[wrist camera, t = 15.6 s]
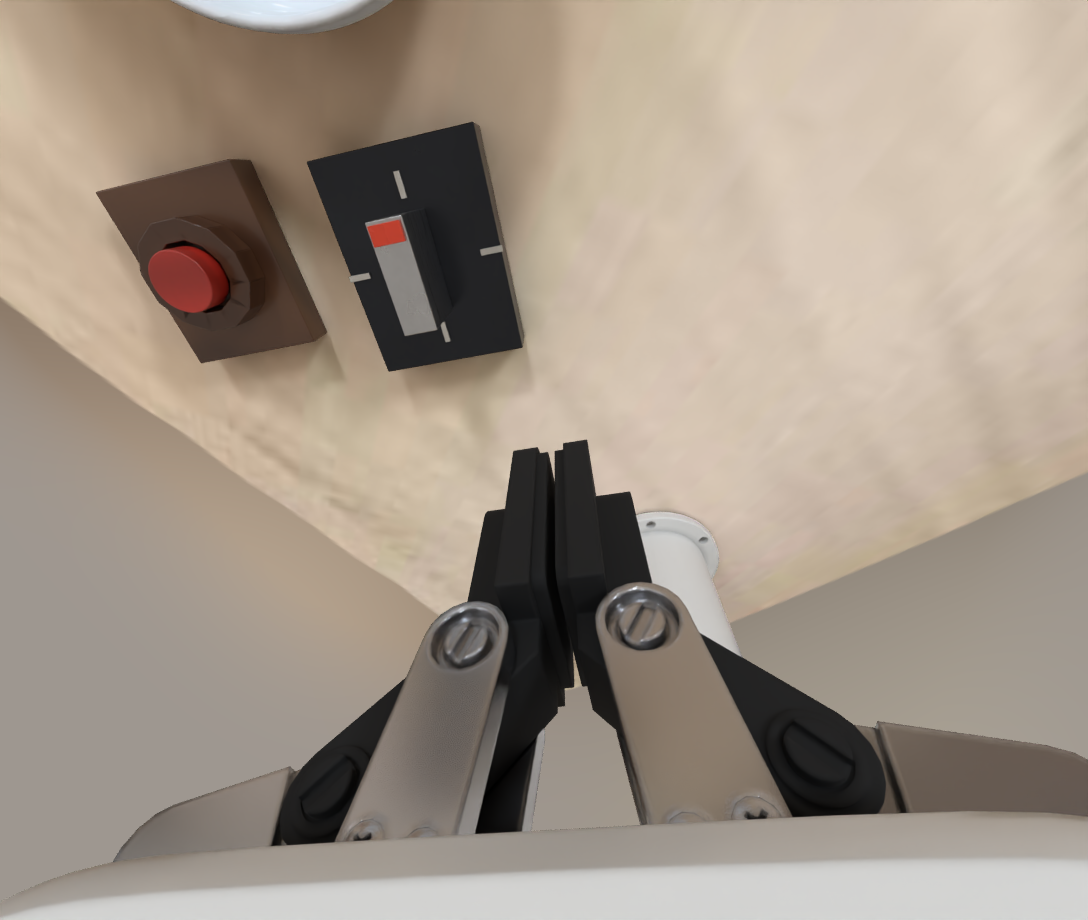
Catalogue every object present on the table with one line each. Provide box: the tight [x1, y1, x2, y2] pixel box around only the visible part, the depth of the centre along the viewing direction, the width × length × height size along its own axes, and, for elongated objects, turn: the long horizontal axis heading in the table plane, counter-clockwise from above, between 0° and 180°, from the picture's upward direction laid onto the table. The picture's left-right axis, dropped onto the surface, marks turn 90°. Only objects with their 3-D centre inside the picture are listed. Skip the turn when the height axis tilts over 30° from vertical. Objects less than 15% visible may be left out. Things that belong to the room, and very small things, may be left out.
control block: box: [96, 159, 327, 363], centre depth 30 cm, size 11×9×4 cm
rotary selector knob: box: [365, 209, 453, 336], centre depth 27 cm, size 6×2×5 cm, turn 11°
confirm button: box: [148, 246, 229, 313], centre depth 28 cm, size 4×4×2 cm
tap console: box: [307, 122, 524, 372], centre depth 30 cm, size 13×10×3 cm
